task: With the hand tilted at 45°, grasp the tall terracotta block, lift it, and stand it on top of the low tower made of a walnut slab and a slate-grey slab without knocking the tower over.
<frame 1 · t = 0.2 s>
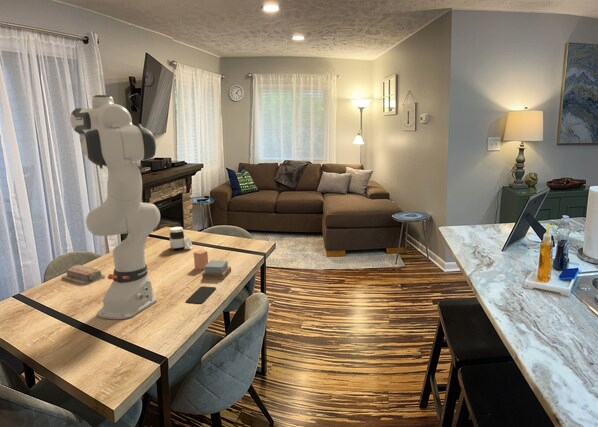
hand: (109, 162, 180), 52 cm above the table, tool tilted 20°, fingers open, 8 cm apart
terracotta block: (201, 267, 194), on the table
slate slab: (216, 269, 184), point 2 cm above the table
spread jar: (181, 248, 223), on the table
walnut slab: (217, 276, 185), on the table
phone: (201, 296, 164), on the table
packaged product: (84, 278, 185), on the table
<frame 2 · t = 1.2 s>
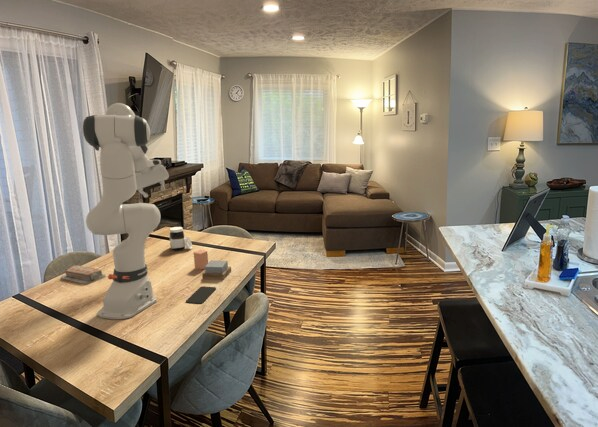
hand: (155, 193, 192), 35 cm above the table, tool tilted 25°, fingers open, 8 cm apart
slate slab: (216, 269, 184), point 2 cm above the table, touching walnut slab
walnut slab: (217, 276, 185), on the table, touching slate slab
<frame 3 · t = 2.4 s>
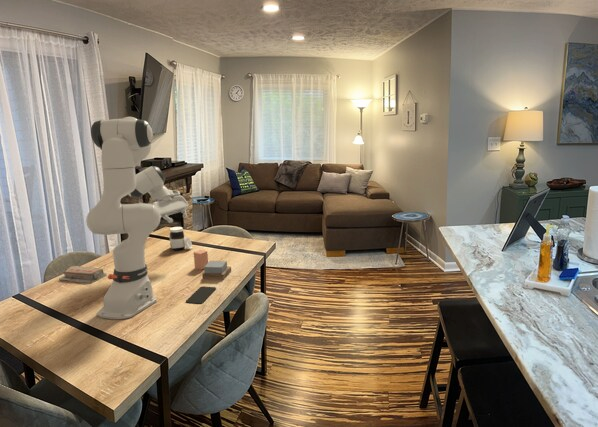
hand: (179, 219, 195), 22 cm above the table, tool tilted 45°, fingers open, 8 cm apart
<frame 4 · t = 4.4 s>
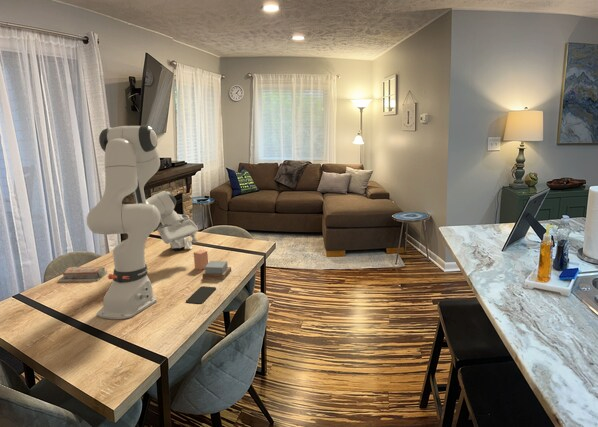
hand: (188, 244, 195), 11 cm above the table, tool tilted 45°, fingers open, 8 cm apart
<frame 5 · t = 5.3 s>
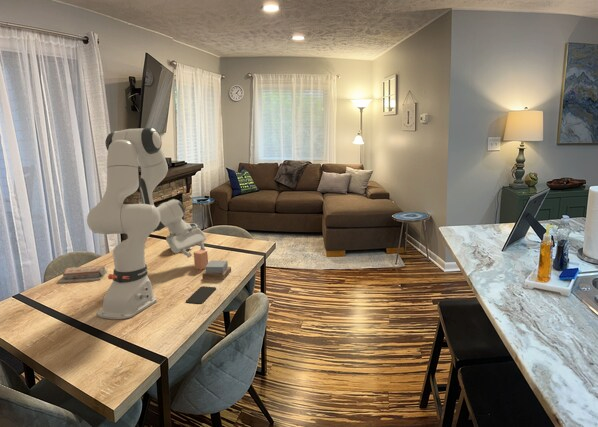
hand: (197, 253, 194), 7 cm above the table, tool tilted 45°, fingers open, 8 cm apart
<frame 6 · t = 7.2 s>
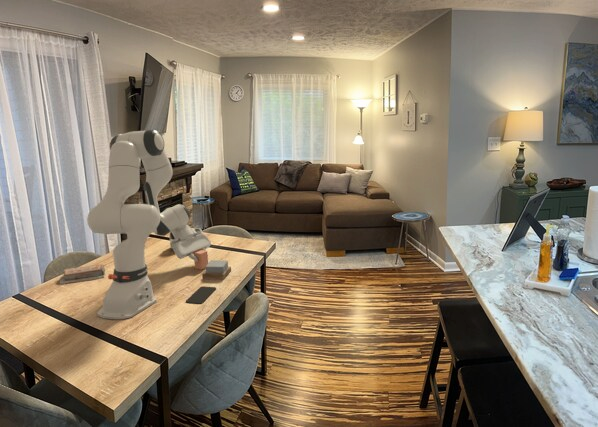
hand: (202, 259, 193), 4 cm above the table, tool tilted 45°, fingers closed on terracotta block, 4 cm apart
terracotta block: (201, 267, 194), on the table, touching gripper
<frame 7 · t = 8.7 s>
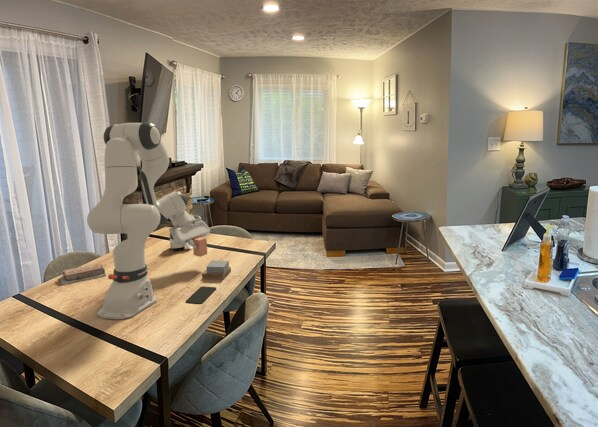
hand: (201, 245, 191), 11 cm above the table, tool tilted 45°, fingers closed on terracotta block, 4 cm apart
terracotta block: (200, 254, 192), point 7 cm above the table, touching gripper
when the fingers open (12 cm above the table, at t = 13.4 s): terracotta block drops 2 cm, resting on slate slab.
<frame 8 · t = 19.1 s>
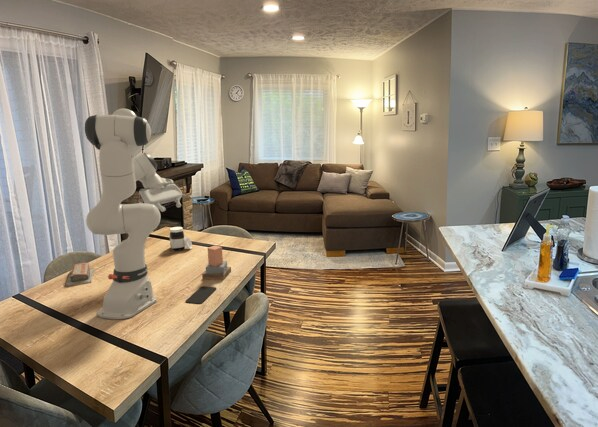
hand: (172, 208, 187), 29 cm above the table, tool tilted 45°, fingers open, 8 cm apart
terracotta block: (215, 264, 183), point 5 cm above the table, touching slate slab
slate slab: (217, 270, 184), point 2 cm above the table, touching terracotta block, walnut slab
packaged product: (80, 278, 185), on the table
everything else where it was.
at the end: terracotta block 0.2 cm off-centre on the walnut slab, point 6.0 cm above the walnut slab's base; terracotta block tilted 0°; slate slab 0.1 cm off-centre on the walnut slab, point 3.0 cm above the walnut slab's base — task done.
